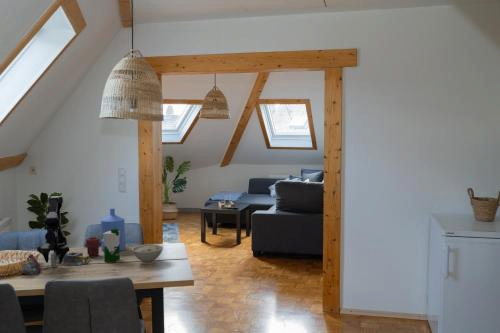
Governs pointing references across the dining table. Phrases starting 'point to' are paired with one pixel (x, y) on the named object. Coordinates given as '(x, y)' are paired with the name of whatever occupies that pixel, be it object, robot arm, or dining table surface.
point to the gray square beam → (53, 260)
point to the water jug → (114, 227)
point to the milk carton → (111, 245)
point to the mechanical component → (93, 246)
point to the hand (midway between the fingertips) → (53, 263)
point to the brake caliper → (31, 266)
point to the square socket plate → (74, 259)
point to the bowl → (147, 253)
